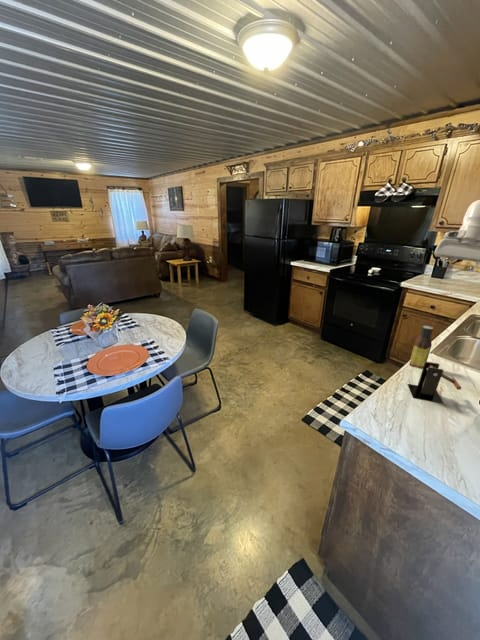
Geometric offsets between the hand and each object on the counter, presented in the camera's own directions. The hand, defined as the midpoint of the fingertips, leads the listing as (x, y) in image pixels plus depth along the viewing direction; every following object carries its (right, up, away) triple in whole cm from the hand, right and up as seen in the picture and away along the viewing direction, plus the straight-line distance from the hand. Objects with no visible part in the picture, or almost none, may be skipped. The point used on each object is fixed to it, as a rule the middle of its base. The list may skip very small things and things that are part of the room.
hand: (457, 269), depth 112 cm
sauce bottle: (-11, -44, +10) cm, 46 cm away
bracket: (-21, -52, -9) cm, 56 cm away
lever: (-18, -44, -13) cm, 49 cm away
